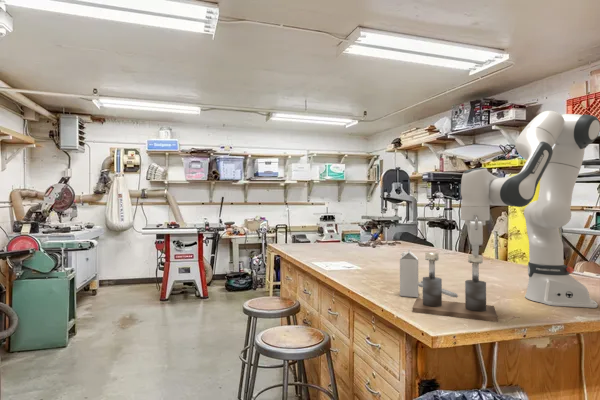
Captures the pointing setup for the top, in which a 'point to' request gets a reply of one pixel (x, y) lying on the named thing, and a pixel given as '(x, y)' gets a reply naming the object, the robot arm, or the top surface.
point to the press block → (469, 309)
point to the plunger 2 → (475, 266)
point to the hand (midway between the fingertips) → (475, 255)
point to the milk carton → (409, 274)
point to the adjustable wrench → (442, 290)
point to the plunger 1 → (431, 262)
